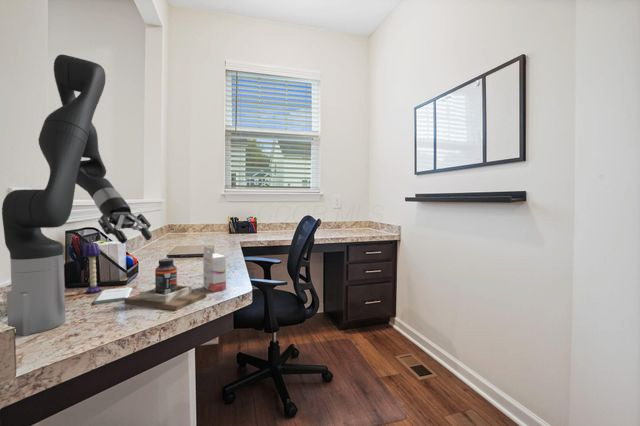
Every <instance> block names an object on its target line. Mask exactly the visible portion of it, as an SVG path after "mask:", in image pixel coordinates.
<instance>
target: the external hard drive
mask: <svg viewBox="0 0 640 426" xmlns="http://www.w3.org/2000/svg"><path fill="white" fill-rule="evenodd" d="M132 290H133V288H132V287H128V286H127V287H120V288H112V289H104V290H102V291H101V292H100V294H99V295H98V296H97V297H96V298H95V300H94V301H93V305H100V304H108V303H109V304H110V303H117V302H123V301H124V299H125V298H128V297H130V294H131V292H132ZM124 302H125V301H124Z"/></svg>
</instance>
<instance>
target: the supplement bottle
mask: <svg viewBox="0 0 640 426" xmlns="http://www.w3.org/2000/svg"><path fill="white" fill-rule="evenodd" d="M174 263H175V262H174V259H173V258H161V259H159V260H158V266H157V267H155V270H154V272H155V273H154V274H155V275H154V276H155V280H154V281H155V287H154V288H155V291H156V294H163V295H166V294H169V293H172V292H175V291H177V285H178V279H177V278H178V271H177V270H178V269H177V266H176V265H175V264H174Z"/></svg>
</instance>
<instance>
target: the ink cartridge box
mask: <svg viewBox="0 0 640 426" xmlns="http://www.w3.org/2000/svg"><path fill="white" fill-rule="evenodd" d="M202 258H203V259H202V260H203V263H202V264H203V288H205V289H206V290H209V291H211V292H213V293H214V292H219V291H225V290H227V279H226V278H227V276H226V275H227V274H226V268H227V266H226V265H227V264H226V263H227V261H226V260H227V259H226V255H222V254H219V253H216V252H215V253H214V249H213V248H211V247H209V246H203V257H202Z"/></svg>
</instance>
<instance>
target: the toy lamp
mask: <svg viewBox="0 0 640 426" xmlns="http://www.w3.org/2000/svg"><path fill="white" fill-rule="evenodd" d="M100 255H101V251H100V248H99V246H98V243H97V242H90V243H89V242H88V243H85V245H84V248H83V252H82V256H83V257H86V258H87V257H88V260H89V261H88V264H89V266H88V268H89V287H88V288H86V290H85V294H88V295H92V294H93V295H94V294H99V293H102V291H103V290H102V287H100V286H98V283H97V265H96V263H97V260H96V257H98V256H100Z"/></svg>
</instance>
